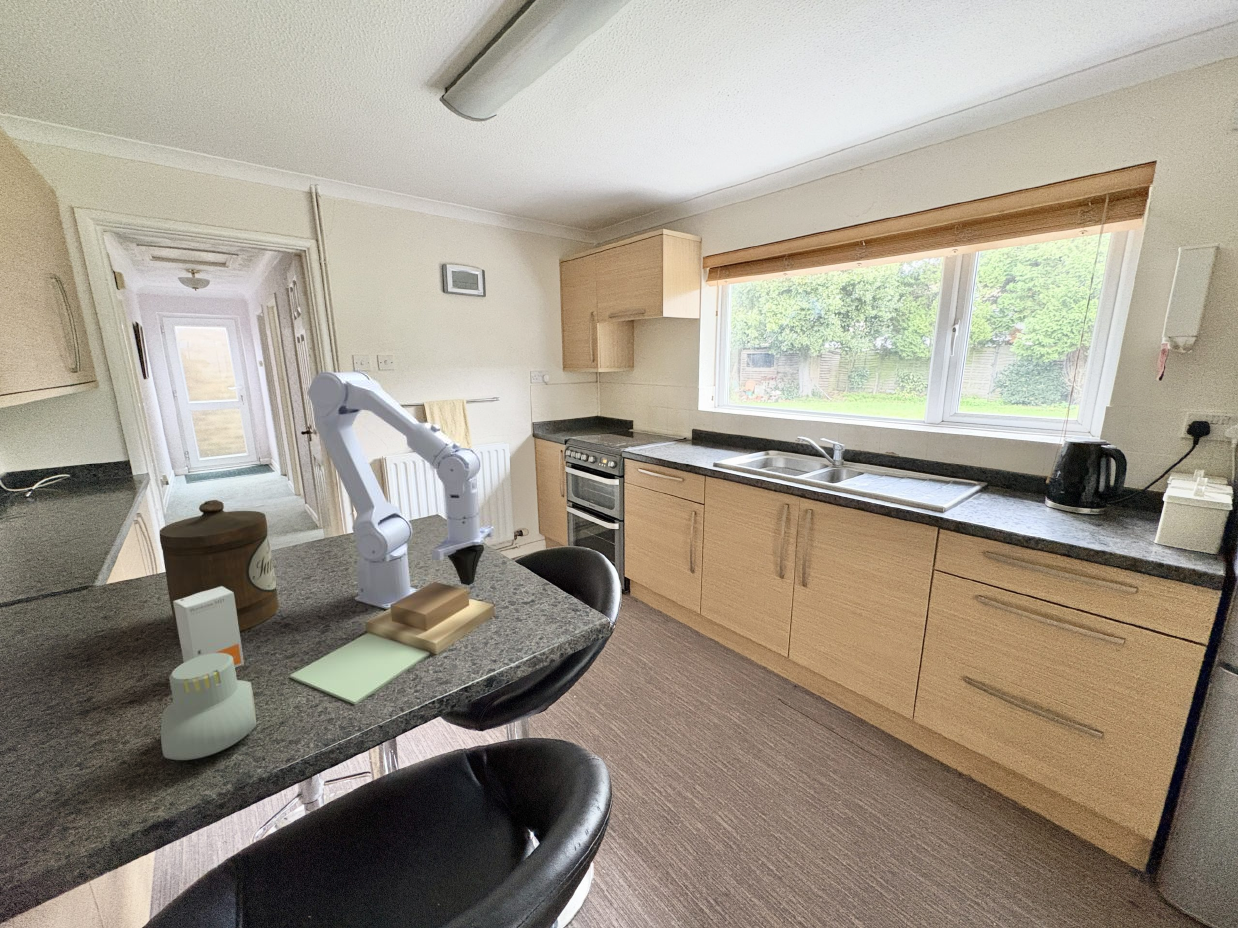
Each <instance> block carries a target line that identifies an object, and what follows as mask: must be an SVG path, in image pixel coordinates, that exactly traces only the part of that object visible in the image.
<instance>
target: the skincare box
mask: <svg viewBox="0 0 1238 928" xmlns="http://www.w3.org/2000/svg"><path fill="white" fill-rule="evenodd" d="M173 604H174V609H175V615H176V621H177V627H178V632H179V635H178V637H179V643H180V648H181V649H180V650H181V654H182V659H183V660H182V661H183V663H185V662H186V661H189V660H191V659H193V658H196V657H199V656H202V655H206V654H212V653H225V654H228V655H231V656H232V657H233V661H234V666H235V669H236V668H240V667H242V666H244V664H245V662H244V653H243V648H242V641H241V634H240V631H239V626H238V619H237V612H236V605H235V598H234V593H233V592H232V591H230V590H228V589H226V588H224V587H223V586H221V587H217V588H214V589H211V590H208V591H203V592H200V593H196V594H194V595H191V596H189V597H185V598H182V599H179V600H175V601H173Z"/></svg>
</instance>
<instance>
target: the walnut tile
mask: <svg viewBox="0 0 1238 928" xmlns="http://www.w3.org/2000/svg"><path fill="white" fill-rule="evenodd" d="M469 597H470V596H469V589H467V588H462V587H458V586H453V585H450V584H445V583H442V582H437V581H434V582H431V583H430V584H428V585H426V586H423V587H422V588H420V589H418V591H416V592H414V593H412V594H410V595H408V596H406V597H404V598H403V599H401V600H399V601H397V602H395V603H393V604H391V605H390V607H391V617H392V621H393V622H397V623H400V624H404V625H407V626H410V627H414V628H417V629H420V630H424V631H428V630H430V629H431V628H433V627H435V626H436V625H438V624H440V623H441V622H443V621H444V620H446V619H448V618H449V617H451V616H453V615H454V614H456V613H457V612H459V611H461V610H462V609H464V608H466V607H467V606H469V599H470V598H469Z"/></svg>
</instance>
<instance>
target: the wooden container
mask: <svg viewBox="0 0 1238 928" xmlns="http://www.w3.org/2000/svg"><path fill="white" fill-rule="evenodd" d="M224 508H225V506H224V503H223V502H222V501H220V500H218V499H211V500H207V501H204V502H203V503H201V504H200V505H199V507H198V510H199V511H200V513H202V514H201V515H197V516H193V517H189V518H184V519H181V520H178V521H175V522H171V523H169V524H167V525H165V526H163V527H162V528H161V529H160V530H159V543H160V546H161V550H162V557H163V563H164V570H165V577H166V583H167V584H166V585H167V591H168V596H169V603H170V607H171V608H170V609H171V612H172V613H171V614H172V618H173V624H174V628H175V632H176V634H177V636H179V632H178V627H177V621H176V615H175V609H174V604H173V601H175V600H179V599H182V598H185V597H189V596H191V595H194V594H196V593H200V592H203V591H208V590H211V589H214V588H217V587H221V586H223V587H224V588H226V589H228V590H230V591H232V592H233V593H234V598H235V605H236V612H237V619H238V626H239V632H242V631H245V630H248V629H250V628H252V627H255V626H257V625H259V624H261V623H264V622H265V621H267V620H269V619H270V618H271V617H272V616H273V615H275V614H276V612H277V611H278V609H279V608H280V607H279V598H278V591H277V583H276V576H275V568H274V563H273V562H274V561H273V557H272V551H271V546H270V540H269V539H270V538H269V533H268V532H269V531H268V523H267V517H266V514H265V513H264V512H261V511H256V510H254V511H253V510H232V511H225V510H224Z"/></svg>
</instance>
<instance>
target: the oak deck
mask: <svg viewBox="0 0 1238 928" xmlns="http://www.w3.org/2000/svg"><path fill="white" fill-rule="evenodd" d="M495 614H496V613H495V605H494V604H491V603H488V602H484V601H480V600H476V599H473V598H469V606H467V607H466V608H464V609H462V610H461V611H459V612H457V613H456V614H454V615H453V616H451V617H449V618H448V619H446V620H444V621H443V622H441V623H440V624H438V625H436V626H435V627H433V628H431V629H430V630H428V631H424V630H420V629H417V628H414V627H410V626H407V625H404V624H400V623H397V622H393V621H392V617H391V608H390V609H386V610H385V611H383V612H381V613H378V614H377V615H375V616H373V617H372V618H370V619H368V620H366V621H365V629H366V633H370V634H373V635H376V636H380V637H383V638H386V639H389V640H392V641H395V642H398V643H401V644H404V645H408V646H411V647H414V648H417V649H420V650H423V651H426V652H429V654H434V655H436V656H437V655H439V654H440V653H441V652H443V651H445V650H446V649H447V648H449V647H450V646H451V645H453V644H455V643H456V642H458V641H459V640H460V639H462V638H463V637H465V636H466V635H467V634H469V633H471V632H473V630H475V629H477V628H478V627H479V626H481V625H482V624H483V623H486V621H488V620H490V619H491V618H493V617H494V616H495Z"/></svg>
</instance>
